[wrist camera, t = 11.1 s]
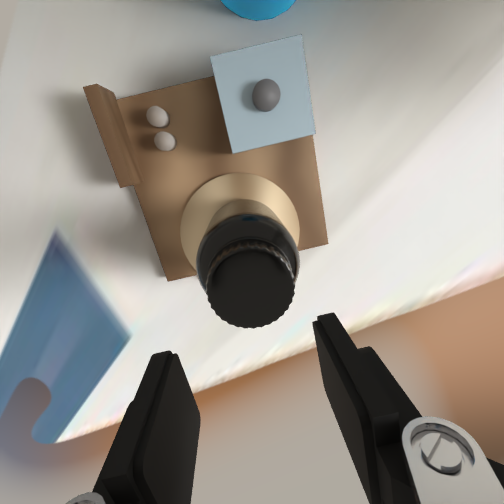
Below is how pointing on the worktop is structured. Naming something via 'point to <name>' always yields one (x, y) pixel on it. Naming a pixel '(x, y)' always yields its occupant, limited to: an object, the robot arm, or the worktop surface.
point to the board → (201, 168)
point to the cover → (264, 93)
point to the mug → (258, 8)
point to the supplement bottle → (247, 264)
